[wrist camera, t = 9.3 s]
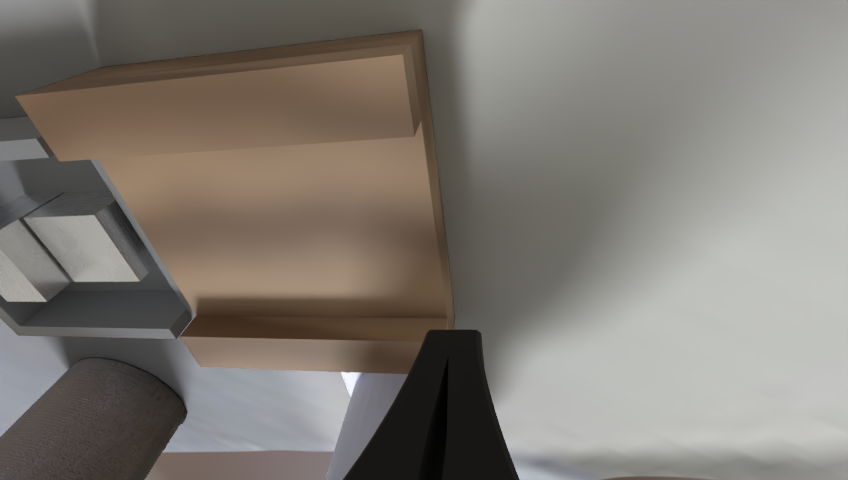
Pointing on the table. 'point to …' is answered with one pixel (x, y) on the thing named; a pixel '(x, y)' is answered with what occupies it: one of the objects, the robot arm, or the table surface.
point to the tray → (83, 301)
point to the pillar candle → (93, 426)
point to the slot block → (278, 194)
